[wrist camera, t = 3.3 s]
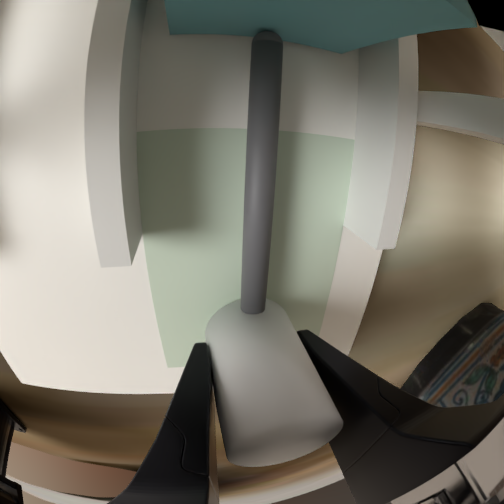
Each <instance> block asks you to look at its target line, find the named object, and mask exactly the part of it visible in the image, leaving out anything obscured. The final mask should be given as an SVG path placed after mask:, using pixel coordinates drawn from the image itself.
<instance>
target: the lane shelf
mask: <svg viewBox="0 0 504 504" xmlns="http://www.w3.org/2000/svg"><path fill="white" fill-rule="evenodd" d="M467 1H468V3H469V5H470V7H471V9H472V11H473V13H474V15H475V17H476V19H477V21H478V24H479V26H480V27H481V28H482V29H483V30H484V31H485V32H486V33H487V34H488V35H489V36H490V37H491V38H492V39H493V40H494V41H495V42H496V43H497V44H498V45H499V46H500V48H501V49H502V50H503V51H504V0H467ZM253 38H254V37H248V36H237V35H219V34H178V35H170V33H169V27H168V21H167V15H166V9H165V3H164V0H0V351H1V353H2V354H3V356H4V358H5V359H6V361H7V362H8V364H9V365H10V367H11V368H12V370H13V371H14V373H15V374H16V376H17V377H18V379H19V380H20V381H21V383H23V384H29V385H34V386H41V387H47V388H54V389H62V390H71V391H81V392H94V393H114V394H166V393H175V390H176V388H177V385H178V383H179V380H180V378H181V375H182V373H183V370H184V368H185V365H186V363H187V360H188V358H189V356H190V353H191V351H192V348H193V346H194V344H195V343H200V342H206V340H205V329H206V326H207V323H208V322H209V320H210V318H211V317H212V316H213V315H214V314H215V313H216V312H217V311H218V310H219V309H220V308H222V307H223V306H225V305H227V304H229V303H231V302H234V301H236V300H240V299H241V274H242V244H243V217H244V191H245V166H246V143H247V122H248V101H249V81H250V63H251V45H252V40H253ZM416 125H418V126H425V127H431V128H437V129H442V130H447V131H452V132H457V133H462V134H466V135H470V136H475V137H479V138H482V139H486V140H490V141H493V142H497V143H500V144H503V145H504V99H502V98H496V97H490V96H483V95H475V94H466V93H454V92H439V91H418V45H417V34H415V35H410V36H405V37H401V38H396V39H392V40H388V41H384V42H380V43H376V44H372V45H369V46H365V47H362V48H359V49H355V50H352V51H349V52H346V53H343V54H339V53H336V52H332V51H328V50H324V49H320V48H316V47H311V46H307V45H302V44H297V43H291V42H286V41H283V62H282V83H281V102H280V120H279V136H278V152H277V167H276V182H275V196H274V209H273V222H272V235H271V247H270V259H269V271H268V282H267V293H266V299H269V300H272V301H274V302H276V303H278V304H279V305H280V306H281V307H282V308H283V309H284V310H285V311H286V313H287V315H288V317H289V319H290V321H291V323H292V325H293V327H294V329H295V330H296V332H297V331H299V330H305V329H307V330H310V331H311V332H313V333H314V334H315V335H317V336H318V337H320V338H321V339H323V340H324V341H326V342H327V343H329V344H330V345H332V346H333V347H335V348H336V349H338V350H339V351H341V352H342V353H344V354H345V355H347V356H348V355H349V352H350V350H351V347H352V345H353V342H354V339H355V337H356V334H357V331H358V329H359V326H360V323H361V320H362V317H363V314H364V311H365V308H366V305H367V302H368V299H369V296H370V293H371V290H372V286H373V283H374V280H375V276H376V273H377V269H378V266H379V262H380V258H381V254H382V250H383V249H395V247H396V243H397V239H398V235H399V231H400V226H401V222H402V217H403V213H404V208H405V203H406V198H407V193H408V187H409V181H410V175H411V168H412V161H413V154H414V145H415V136H416Z"/></svg>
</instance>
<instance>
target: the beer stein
mask: <svg viewBox="0 0 504 504" xmlns="http://www.w3.org/2000/svg"><path fill="white" fill-rule="evenodd" d="M401 390H403V391H405V392H407V393H409V394H411V395H413V396H415V397H417V398H420V399H422V400H424V401H426V402H428V403H430V404H433V405H435V406H439V407H460V406H469V405H478V404H485V403H490V402H493V401H496V400H498V399H499V398H500V397H501V396H502V395H503V394H504V311H503V310H500V309H499V308H497V307H496V306H494V305H493V304H492V303H481V304H480V305H478V306H477V307H476V308H474V309H473V310H472V311H471V312H469V313H468V314H467V315H465V316H464V317H462V318H461V319H460V320H459V321H458V323H457V324H456V325H455V326H454V327H453V328H452V329H451V330H450V331H449V332H448V333H447V334H446V335H445V336H444V337H442V338H441V339H440V341H439V342H438V343H437V344H436V345H435V346H434V348H433V349H432V350H431V351H430V352H429V353H428V354H427V355H426V357H425V358H424V359H423V360H422V361H421V362H420V363H419V364H418V365H417V367H416V368H415V370H414V371H413V373H412V374H411V375H410V377H409V378H408V379H407V381H406V382H405V383H404V385H403V386H402V387H401ZM501 504H504V502H503V503H501Z"/></svg>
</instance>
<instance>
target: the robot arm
mask: <svg viewBox="0 0 504 504" xmlns="http://www.w3.org/2000/svg"><path fill="white" fill-rule="evenodd" d="M297 334H298V336H299V338H300V340H301V342H302V344H303V346H304V348H305V349H306V351H307V353H308V355H309V357H310V359H311V361H312V363H313V365H314V367H315V368H316V370H317V372H318V374H319V376H320V378H321V380H322V382H323V384H324V386H325V387H326V389H327V391H328V393H329V395H330V397H331V399H332V401H333V403H334V405H335V407H336V408H337V410H338V412H339V414H340V416H341V418H342V420H343V427H342V429H341V431H340V432H339V433H338V434H337V435H336V436H335V437H334V438H333V439H332V440H331V441H329V444H330V446H331V448H332V450H333V453H334V455H335V457H336V459H337V462H338V464H339V466H340V468H341V470H342V473H343V475H344V477H345V480H346V482H347V484H348V486H349V489H350V490H351V493H352V495H353V497H354V499H355V502H356V504H386V503H388V502H390V501H391V502H392V504H501V503H503V502H504V394H503V395H502V396H501V397H500V398H499V399H498V400H496V401H493V402H490V403H485V404H478V405H469V406H460V407H439V406H435V405H433V404H430V403H428V402H426V401H424V400H422V399H420V398H417V397H415V396H413V395H411V394H409V393H407V392H405V391H403V390H401V389H399V388H397V387H396V386H394V385H392V384H391V383H389V382H387V381H386V380H384V379H383V378H381V377H378V376H377V375H376V374H375V373H373V372H371V371H370V370H368V369H367V368H365V367H364V366H362V365H361V364H359V363H358V362H356V361H354V360H353V359H351V358H350V357H348V356H347V355H345V354H344V353H342V352H341V351H339V350H338V349H336V348H335V347H333V346H332V345H330V344H329V343H327V342H326V341H324V340H323V339H321V338H320V337H318V336H317V335H315V334H314V333H313V332H311V331H310V330H307V329H305V330H299V331H297ZM165 417H166V418H164V420H163V423H162V425H161V428H160V430H159V432H158V434H157V437H156V439H155V441H154V443H153V445H152V447H151V448H150V450H149V452H148V454H147V456H146V457H145V459H144V461H143V462H142V464H141V466H140V468H139V469H138V471H137V473H136V474H135V476H134V478H133V479H132V481H131V482H130V484H129V485H128V487H127V488H126V489H125V490H124V491H123V492H122V493H121V494H119V495H118V496H117V497H115V498H114V499H113V500H111V501H110V502H109V503H107V504H219V491H218V476H217V458H216V437H215V408H214V394H213V385H212V375H211V365H210V359H209V354H208V348H207V343H206V342H200V343H195V344H194V346H193V348H192V351H191V353H190V356H189V358H188V360H187V363H186V365H185V368H184V370H183V373H182V375H181V378H180V380H179V383H178V385H177V388H176V390H175V393H174V395H173V398H172V400H171V403H170V405H169V408H168V410H167V413H166V415H165ZM14 430H17V431H20V432H24V433H26V427H25V426H24V425H23V424H22V423H21V422H20V421H19V420H18V419H17V418H16V417H15V416H14V415H13V414H12V413H11V412H10V411H9V409H8V408H7V407H6V406H5V405H4V404H3V403H2V402H1V400H0V504H23V496H22V487H21V485H20V484H18V483H16V482H13V481H11V480H9V479H7V478H5V476H6V468H7V461H8V456H9V450H10V445H11V441H12V436H13V432H14Z"/></svg>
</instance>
